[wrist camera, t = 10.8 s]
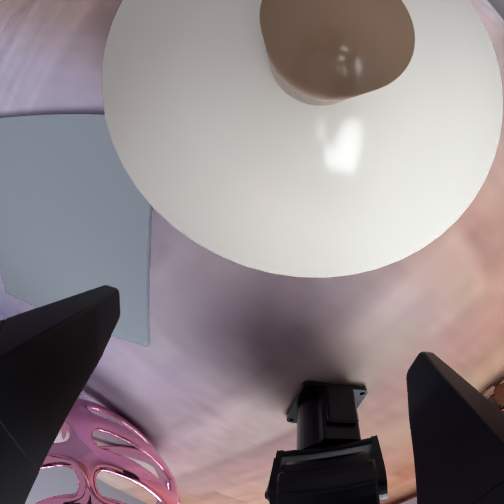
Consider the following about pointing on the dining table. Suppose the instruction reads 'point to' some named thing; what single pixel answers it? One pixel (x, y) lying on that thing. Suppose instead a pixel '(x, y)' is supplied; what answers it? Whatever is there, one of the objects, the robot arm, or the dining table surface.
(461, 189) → the ceramic lid
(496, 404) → the pottery mug
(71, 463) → the spiral basket
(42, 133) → the rubber mat
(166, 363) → the dining table surface
